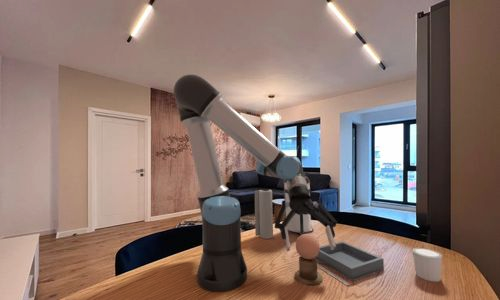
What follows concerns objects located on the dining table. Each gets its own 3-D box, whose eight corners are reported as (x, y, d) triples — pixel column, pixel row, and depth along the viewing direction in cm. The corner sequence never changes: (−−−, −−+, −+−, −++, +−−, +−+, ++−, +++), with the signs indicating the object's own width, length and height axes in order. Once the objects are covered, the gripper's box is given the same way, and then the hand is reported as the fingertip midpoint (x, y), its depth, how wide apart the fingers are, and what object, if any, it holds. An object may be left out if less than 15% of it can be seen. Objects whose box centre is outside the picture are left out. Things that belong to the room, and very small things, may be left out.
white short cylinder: (446, 285, 58) (444, 259, 59) (414, 278, 62) (413, 254, 62) (440, 273, 64) (439, 250, 65) (412, 268, 68) (411, 245, 68)
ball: (306, 265, 59) (305, 240, 60) (291, 255, 66) (290, 232, 66) (325, 260, 62) (324, 236, 63) (309, 251, 69) (308, 229, 69)
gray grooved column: (275, 236, 98) (274, 189, 99) (267, 240, 94) (266, 191, 95) (263, 233, 103) (262, 188, 104) (255, 236, 99) (254, 190, 100)
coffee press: (320, 237, 96) (318, 170, 98) (285, 237, 96) (283, 171, 98) (310, 225, 114) (308, 169, 115) (280, 225, 114) (278, 169, 115)
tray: (352, 281, 61) (351, 268, 62) (314, 258, 76) (313, 248, 76) (383, 269, 67) (383, 258, 67) (342, 250, 82) (342, 241, 82)
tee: (306, 288, 58) (305, 265, 59) (289, 274, 66) (288, 253, 66) (328, 281, 62) (327, 259, 62) (310, 268, 69) (309, 249, 69)
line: (347, 285, 59) (347, 285, 59) (301, 256, 77) (301, 256, 77) (350, 284, 60) (350, 283, 60) (304, 256, 78) (304, 255, 78)
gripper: (328, 195, 83) (348, 252, 67) (264, 197, 82) (269, 254, 67) (333, 183, 77) (356, 242, 62) (265, 185, 77) (270, 244, 62)
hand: (311, 248), depth 64 cm, fingers open, 13 cm apart
